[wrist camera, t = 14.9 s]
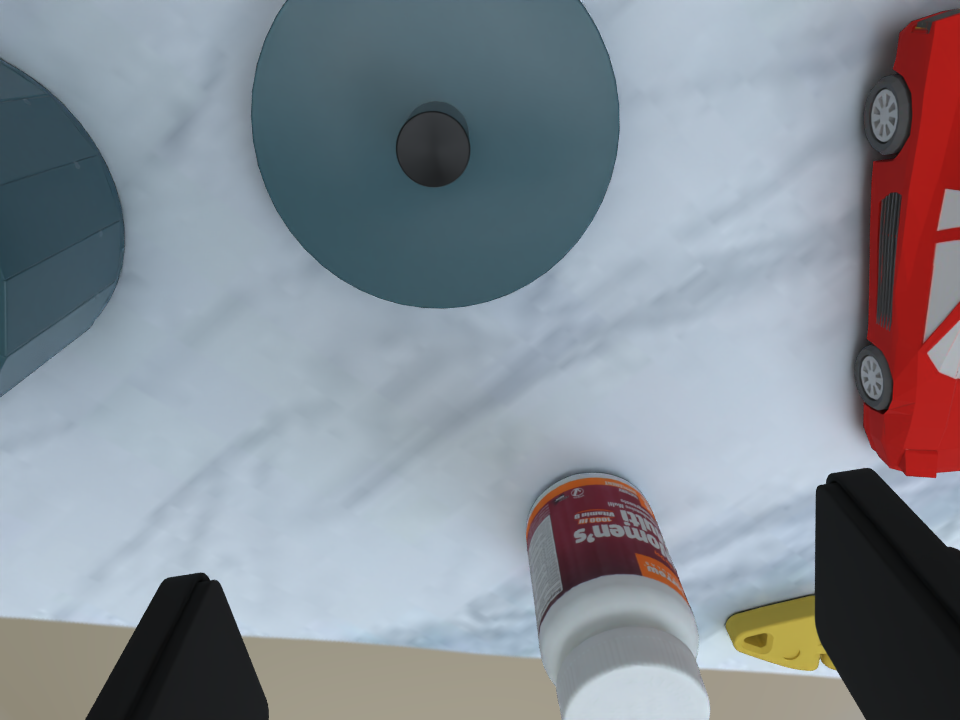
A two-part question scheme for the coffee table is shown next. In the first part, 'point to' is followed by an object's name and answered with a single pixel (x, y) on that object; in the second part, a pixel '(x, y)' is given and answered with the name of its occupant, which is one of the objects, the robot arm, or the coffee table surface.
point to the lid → (435, 140)
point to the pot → (50, 228)
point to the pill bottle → (611, 605)
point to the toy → (780, 634)
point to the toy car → (915, 255)
